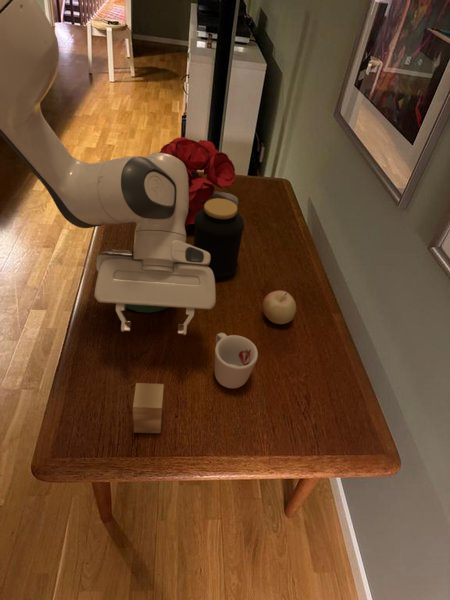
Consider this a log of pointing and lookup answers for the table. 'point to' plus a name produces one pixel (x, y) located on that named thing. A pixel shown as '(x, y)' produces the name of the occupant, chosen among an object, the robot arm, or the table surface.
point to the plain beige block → (148, 408)
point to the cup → (234, 360)
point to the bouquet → (213, 165)
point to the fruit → (279, 307)
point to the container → (219, 235)
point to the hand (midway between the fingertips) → (154, 333)
